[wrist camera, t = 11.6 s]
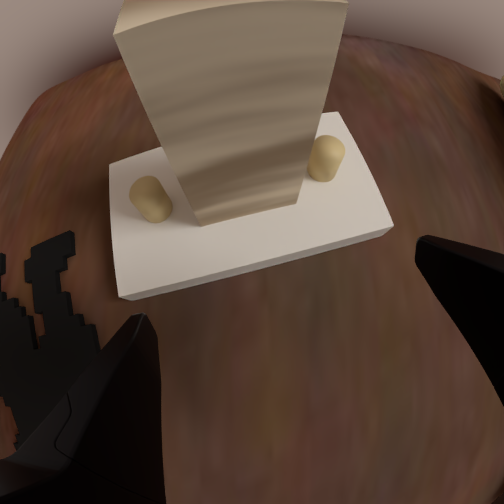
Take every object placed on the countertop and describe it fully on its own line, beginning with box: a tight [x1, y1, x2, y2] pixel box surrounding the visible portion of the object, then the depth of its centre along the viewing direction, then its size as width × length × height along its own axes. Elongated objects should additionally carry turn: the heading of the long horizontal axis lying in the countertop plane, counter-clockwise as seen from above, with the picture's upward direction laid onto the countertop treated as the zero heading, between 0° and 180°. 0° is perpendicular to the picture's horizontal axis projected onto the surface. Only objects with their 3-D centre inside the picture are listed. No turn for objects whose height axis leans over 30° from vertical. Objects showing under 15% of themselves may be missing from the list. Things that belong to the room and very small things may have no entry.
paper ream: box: [113, 0, 349, 227], centre depth 11 cm, size 4×6×13 cm
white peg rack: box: [109, 112, 394, 301], centre depth 17 cm, size 10×18×4 cm, turn 105°
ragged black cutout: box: [0, 230, 101, 451], centre depth 15 cm, size 16×1×30 cm
